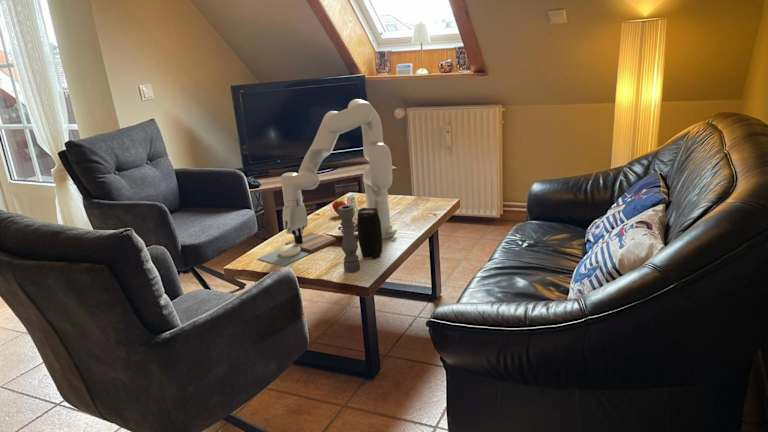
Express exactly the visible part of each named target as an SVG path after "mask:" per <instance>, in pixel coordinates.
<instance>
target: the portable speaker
mask: <svg viewBox="0 0 768 432" xmlns="http://www.w3.org/2000/svg"><path fill="white" fill-rule="evenodd" d="M357 212H358V213H357V221H356V227H357V228H356V229H357V236H358V246H359V248H360V252H361V253H360V254H361V256H362V258H363V259H366V258H368V259H372V260H378V259H379V258H381V257H382V253H383V239H382V232H381V222H380V218H379V215H378V210H377V208H367V207H361V208H359V209H358V211H357Z"/></svg>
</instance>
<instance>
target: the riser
mask: <svg viewBox="0 0 768 432" xmlns="http://www.w3.org/2000/svg"><path fill="white" fill-rule="evenodd" d="M302 240H303V243H302V244H297V245H299V246H300V249H301V251H304V252H308V253H310V254H314V253H316V252H318V251H320V250H321V249H324V248H326V247H328V246H331V245H332V244H334V243H336V242H337V238H336V237H333V236H328V235H323V234H319V233H314V232H307V233H305V234H304V235H303V234H302ZM284 244H285V246H286V245H290V244H296V243H295V239H294V238H293V239H292V240H289V241H287V242H285V243H284Z"/></svg>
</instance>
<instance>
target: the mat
mask: <svg viewBox="0 0 768 432" xmlns="http://www.w3.org/2000/svg"><path fill="white" fill-rule="evenodd" d="M279 249H280V248H278V249H276V250H274V251H272V252H270V253H267V254H265V255H262V256H260V257H258V258H257V261H261V262H265V263H268V264H272V265H276V266H278V267H282V266H284V267H286V266H288V265H290V264H293V263H294V262H297V261H298V260H300V259H303V258H305V257H307V256H309V255H311V253H308V252H304V251H301V252H300V253H299V254H297V255H295V256H292V257H281V256H280V255H279Z"/></svg>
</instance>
